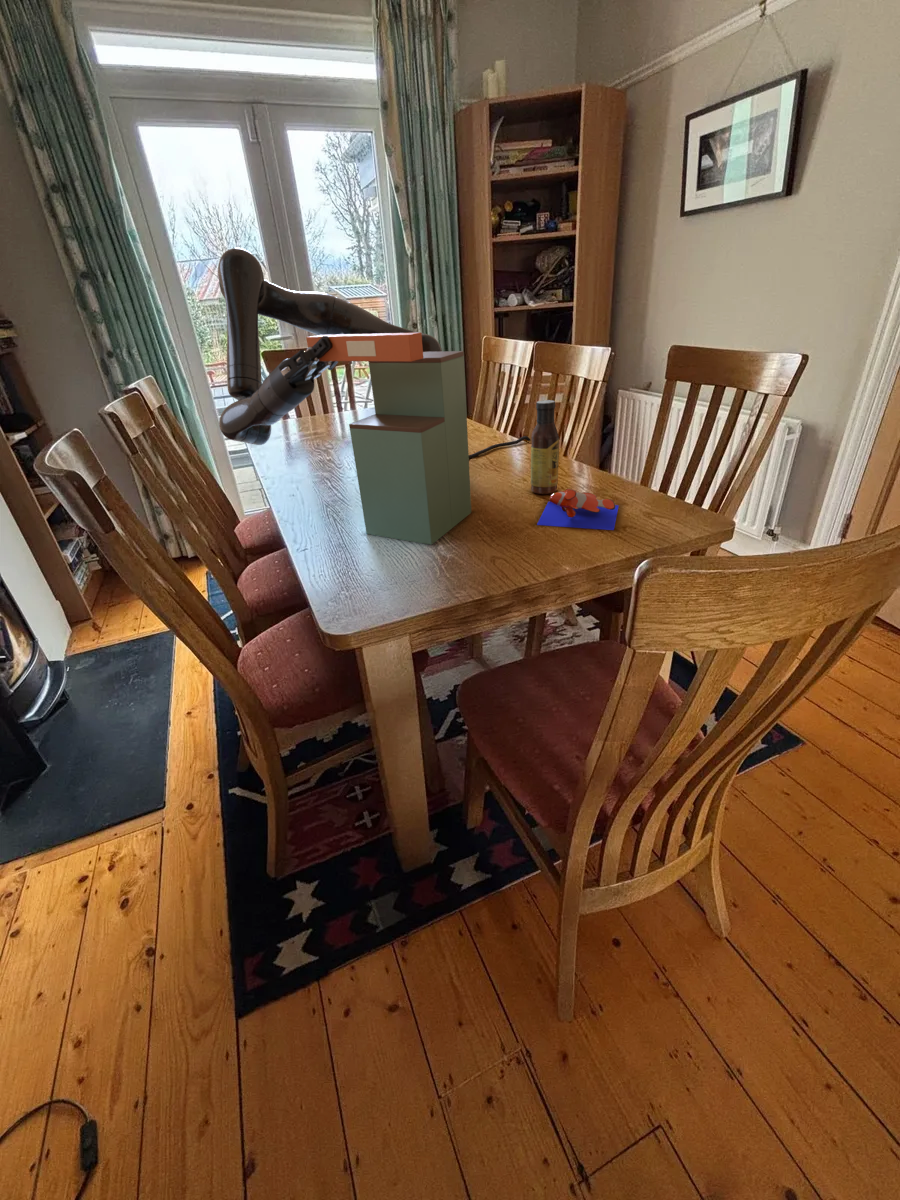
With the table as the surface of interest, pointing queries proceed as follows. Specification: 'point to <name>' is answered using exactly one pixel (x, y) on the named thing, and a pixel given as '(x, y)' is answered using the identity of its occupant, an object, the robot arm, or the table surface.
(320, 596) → the table surface
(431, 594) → the table surface
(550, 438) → the sauce bottle
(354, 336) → the box
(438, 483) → the stand
